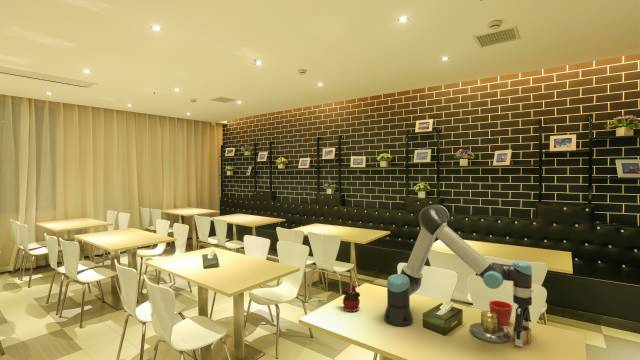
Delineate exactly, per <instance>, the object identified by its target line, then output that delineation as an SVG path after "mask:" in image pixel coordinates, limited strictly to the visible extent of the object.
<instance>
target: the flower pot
mask: <svg viewBox="0 0 640 360" xmlns="http://www.w3.org/2000/svg"><path fill="white" fill-rule="evenodd" d="M488 306H489V311H491V312H495V314H497V325H498V326H501V327H504V326H509V324H510V320H511V316H512V313H513V312H512V311H513V305H512V304H511V303H508V302H506V301H502V300H491V301H489V302H488Z"/></svg>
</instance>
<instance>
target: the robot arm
mask: <svg viewBox="0 0 640 360" xmlns="http://www.w3.org/2000/svg"><path fill="white" fill-rule="evenodd" d="M449 218H450V214H449V211H448V209H446V207H444V206H443V205H440V204H432V205H430V206H425V207H424V208H422V209H421V210H420V212H419V214H418V221H419V226H420V232H419V233H418V236H417V239H416V241H415V242H414V246H413V247H412V251H411V253H410V256H409V259H408V261H407V263H406V265H404V266H402V268H401V271H400V273H395V274H391V275H390V276H388V278H387V281H386V282H387V283H386V289H387V291H386V295H387V299H386V300H387V301H386V302H387V304H386V308H385V312H384V315H383V318H384V319H383V320H384V322H385V321H386V322H385V323H386V324H388V325H392V326H395V327H400V328H401V327H402V328H403V327H409V326H411V325H412V324H414V316H413V313H412V310H411V307H410V305H411V304H410V300H411V299H410V296H412V295H413V294H414V293H415V292H417V291H418V290H419V289H420V288H421V285H422V279H423V276H424V275H423V273H422V271H423V269H424V266H425V263H426V261H427V259H428V256H429V255H430V252H431V250H432V247H433V244H434V243H435V240H436V238H437V239H438V240H439V241H440V242H442V244H444V245H445V246H446V247H447V248H448V249H449V250H450V251H451V252H453V253H454V254H455V255H456V257H458V258H459V259H460V260H461V261H463V263H464V264H466V265H467V266H468V267H469V268H470V269H472V271H474V272H475V274H476V275H478V276H479V277H480V278H481V279H482V281H483V283H484V285H485V287H487V288H489V289H492V290H495V289H498V288H500V287H501V286H502V285H503V284H504V281H506V282H508V281H509V282H512V293H513V294H512V302H513V303H514V304H515V305H517V306H516V308H515V316H514V317H515V318H514V323H513V324H514V325H513V326H514V329H513V328H512V331H515V340H514V345H515V346H517V347H520V348H521V347H522V348H523V344H522V326H523V325H524V326H528V327H529V328H530V323H531V322H532V318H531V312H530V307H531V306H532V304H533V298H532V296H533V295H532V294H533V293H534V290H533V288H532V287H533V286H532V283H533V281H532V280H533V272H532V264H531V263H529V262H527V261H522V260H515V261H513V263H512V264H507V263H506V264H505V263H499V262H498V263H497V262H490V261H488V260H487V259H486V258H484V257H483V256H482V255H481V254H480V253H479V252H477V251H476V250H475V249H474V248H473V247H472V246H471V245H469V244H468V243H467V242H466V241H465V240H464V239H463V238H461V236H459V235H458V234H457V233H456V232H455V231H454V230H453V229H451V228H450V227H449V226H448V221H449ZM408 325H409V326H408Z"/></svg>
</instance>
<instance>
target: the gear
mask: <svg viewBox="0 0 640 360" xmlns="http://www.w3.org/2000/svg"><path fill="white" fill-rule="evenodd" d="M513 329H514V325H513V328H512V331H513ZM512 336H513V337H512V338H513V340H514V341H515V331H513V333H512ZM531 343H532V328H531V327H530V326H529V327H528V326H524V325H523V326H522V345H531Z"/></svg>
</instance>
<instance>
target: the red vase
mask: <svg viewBox="0 0 640 360" xmlns="http://www.w3.org/2000/svg"><path fill="white" fill-rule="evenodd" d="M349 281H350V282H349V283H350V285H349V288H348V289H343V290H342V294H343V295H344V296H343V298H342V304H343V306H342V309H343V308H344V309H345V310H344V309H343V310H344V311H345V312H349V311H350V312H351V311H353V312H358V311H359V310H360V305H361V304H360V298H359V297H361V294H360V293H359V291H357V289H356V288H357V287H358V286H359V284H358V283H354V284H353V279H352V278H350V279H349ZM356 310H357V311H356Z"/></svg>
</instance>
